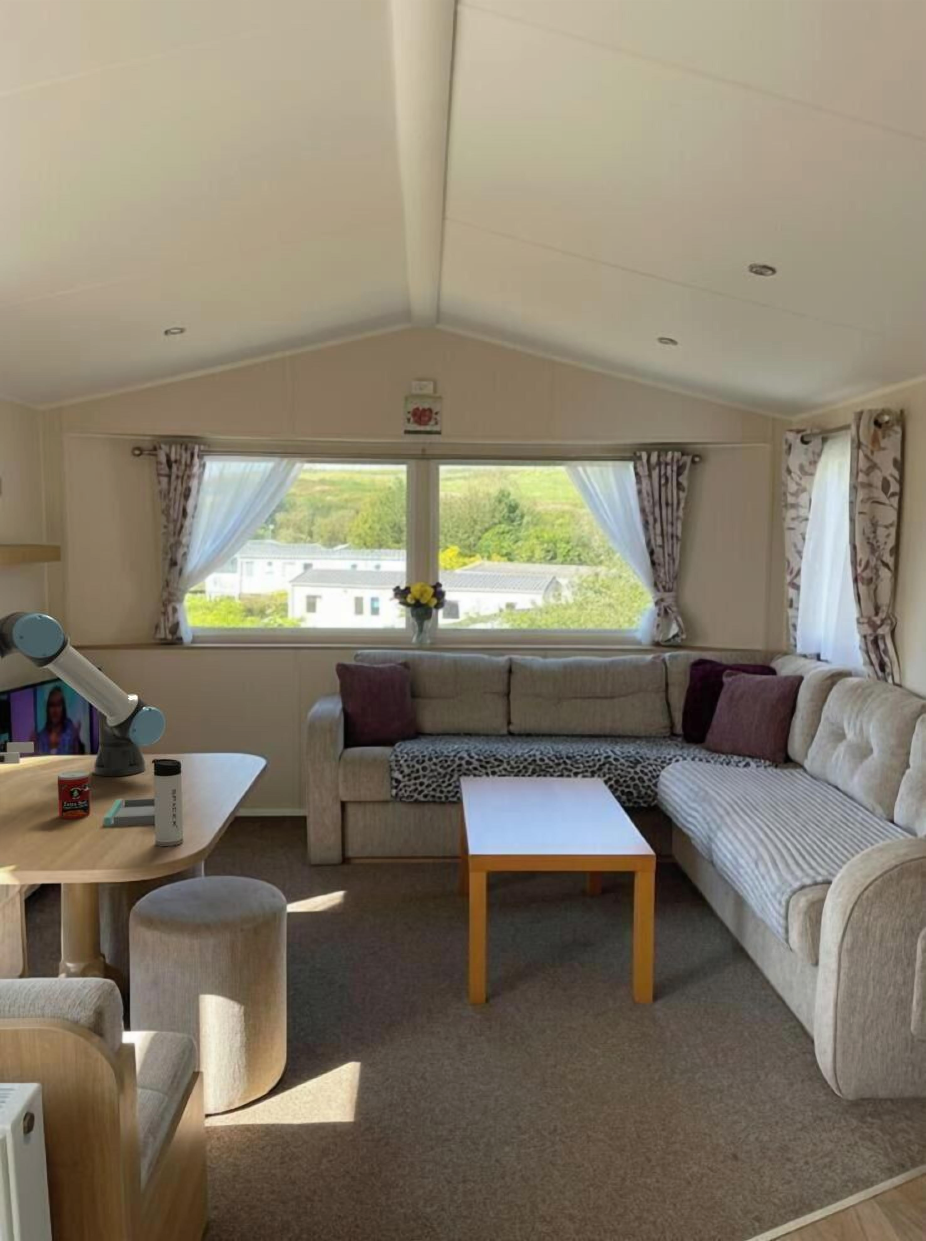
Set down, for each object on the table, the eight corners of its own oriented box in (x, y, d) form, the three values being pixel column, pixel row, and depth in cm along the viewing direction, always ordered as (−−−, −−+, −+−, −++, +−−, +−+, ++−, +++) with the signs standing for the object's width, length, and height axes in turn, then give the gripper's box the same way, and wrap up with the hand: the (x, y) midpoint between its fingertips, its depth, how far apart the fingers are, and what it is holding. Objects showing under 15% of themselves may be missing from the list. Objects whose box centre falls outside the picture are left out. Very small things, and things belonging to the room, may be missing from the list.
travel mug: (157, 839, 230) (155, 756, 228) (185, 838, 230) (183, 756, 229) (151, 847, 224) (149, 762, 222) (180, 846, 224) (178, 762, 223)
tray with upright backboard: (117, 807, 258) (116, 770, 257) (174, 804, 261) (174, 768, 260) (104, 826, 240) (103, 787, 240) (166, 823, 243) (165, 784, 242)
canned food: (60, 821, 245) (59, 778, 244) (57, 813, 252) (56, 772, 252) (92, 817, 249) (91, 775, 248) (88, 809, 256) (87, 769, 255)
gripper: (-45, 759, 257) (39, 756, 261) (-81, 780, 233) (13, 777, 236) (-46, 731, 257) (38, 729, 260) (-82, 750, 232) (12, 747, 236)
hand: (26, 752), depth 248 cm, fingers open, 13 cm apart
